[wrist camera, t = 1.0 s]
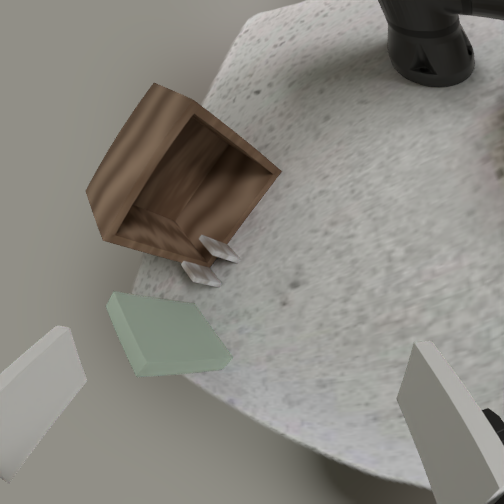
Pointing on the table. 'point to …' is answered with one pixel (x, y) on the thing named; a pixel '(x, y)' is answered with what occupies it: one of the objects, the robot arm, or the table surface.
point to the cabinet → (178, 184)
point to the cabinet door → (165, 336)
